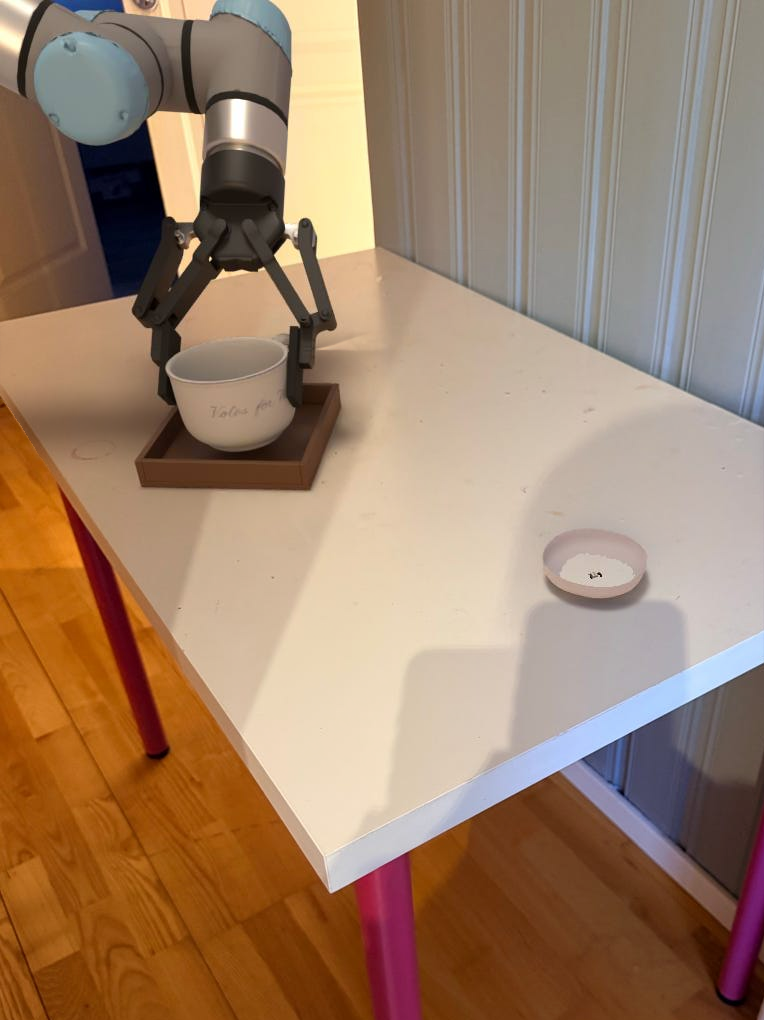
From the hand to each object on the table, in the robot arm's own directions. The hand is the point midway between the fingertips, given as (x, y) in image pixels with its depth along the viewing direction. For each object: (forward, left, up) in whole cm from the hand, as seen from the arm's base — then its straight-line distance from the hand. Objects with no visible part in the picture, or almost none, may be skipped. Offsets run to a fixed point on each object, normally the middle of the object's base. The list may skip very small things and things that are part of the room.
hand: (230, 401), depth 82 cm
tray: (0, +3, -6) cm, 6 cm away
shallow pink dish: (+32, -18, -6) cm, 37 cm away
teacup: (+1, +3, -4) cm, 5 cm away
